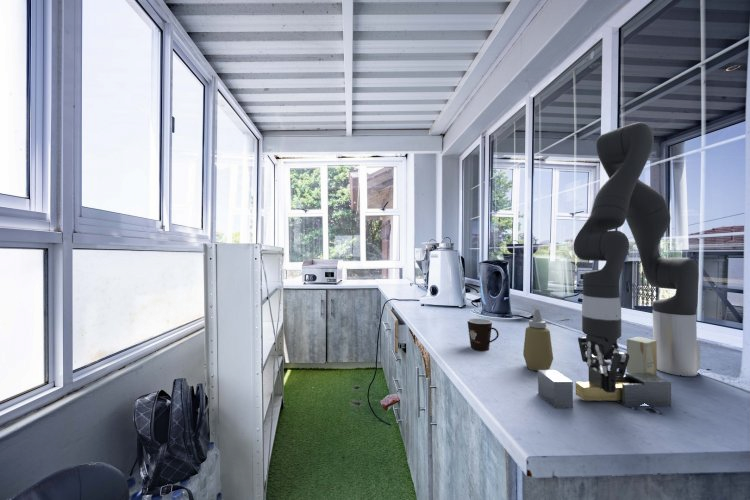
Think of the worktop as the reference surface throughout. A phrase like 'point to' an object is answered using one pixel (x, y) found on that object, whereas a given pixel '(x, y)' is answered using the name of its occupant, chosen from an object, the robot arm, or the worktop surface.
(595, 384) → the yellow bar
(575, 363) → the worktop surface
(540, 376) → the socket
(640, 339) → the skincare box
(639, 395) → the sleeve
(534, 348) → the squeeze bottle
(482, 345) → the coffee mug
